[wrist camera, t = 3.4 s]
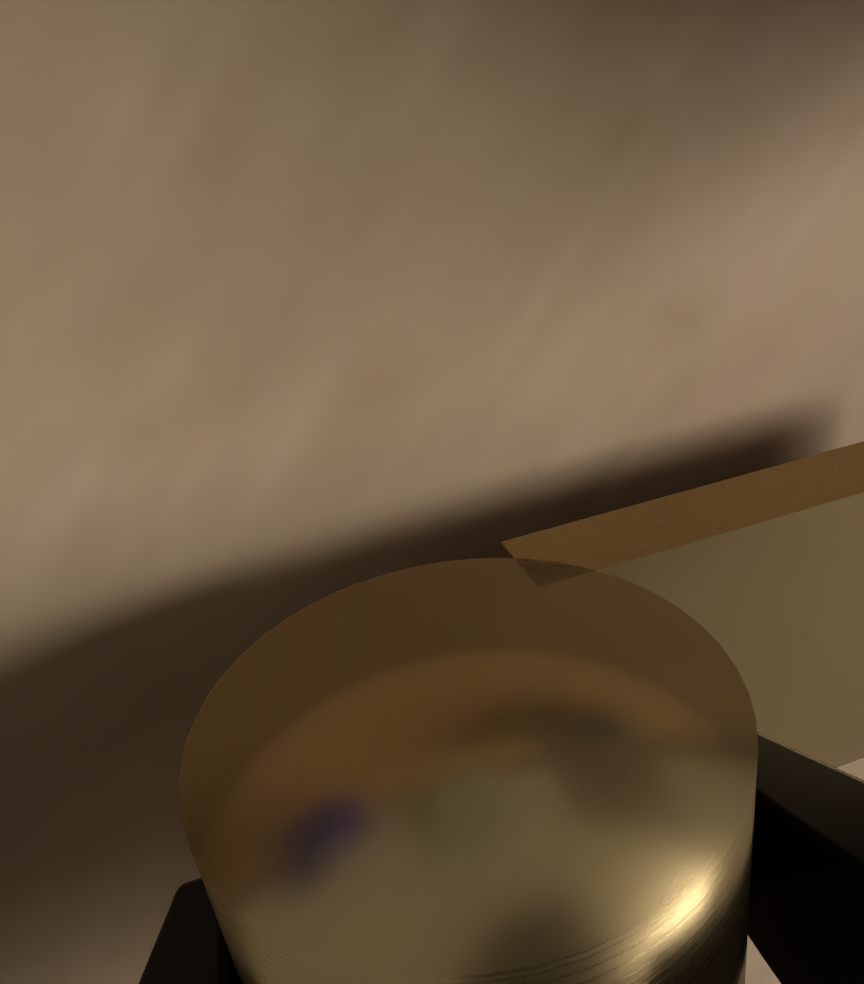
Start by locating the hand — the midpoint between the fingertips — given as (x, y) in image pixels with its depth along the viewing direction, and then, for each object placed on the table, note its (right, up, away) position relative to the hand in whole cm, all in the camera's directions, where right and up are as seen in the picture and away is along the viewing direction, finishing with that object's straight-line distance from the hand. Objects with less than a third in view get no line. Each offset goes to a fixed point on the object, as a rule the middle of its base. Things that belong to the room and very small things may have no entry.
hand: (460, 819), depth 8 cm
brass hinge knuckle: (+2, +1, +2) cm, 3 cm away
